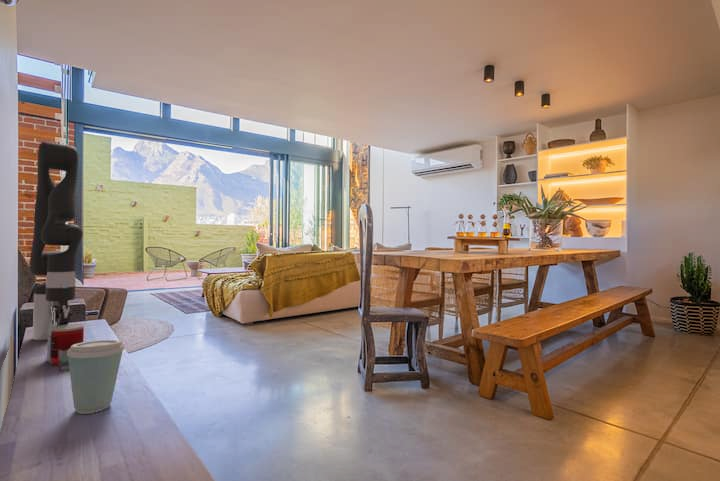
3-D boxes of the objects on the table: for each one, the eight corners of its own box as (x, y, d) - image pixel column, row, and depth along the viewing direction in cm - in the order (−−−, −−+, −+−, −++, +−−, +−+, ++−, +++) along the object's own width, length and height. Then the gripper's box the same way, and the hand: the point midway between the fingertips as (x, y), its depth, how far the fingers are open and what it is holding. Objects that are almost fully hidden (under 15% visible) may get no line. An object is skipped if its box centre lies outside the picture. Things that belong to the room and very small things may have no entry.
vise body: (55, 368, 110) (55, 349, 110) (88, 361, 117) (89, 343, 117) (61, 372, 106) (61, 353, 106) (95, 365, 113) (96, 347, 113)
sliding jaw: (41, 356, 121) (42, 332, 121) (68, 351, 126) (68, 329, 126) (50, 362, 115) (50, 337, 115) (77, 356, 121) (78, 333, 121)
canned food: (88, 358, 119) (89, 324, 119) (67, 366, 111) (68, 329, 111) (66, 357, 120) (67, 323, 120) (43, 365, 112) (44, 328, 112)
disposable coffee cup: (65, 405, 85) (67, 339, 85) (121, 394, 92) (122, 333, 92) (64, 423, 77) (66, 350, 77) (125, 410, 83) (127, 342, 83)
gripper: (40, 284, 122) (38, 337, 122) (52, 288, 114) (50, 344, 114) (68, 283, 128) (67, 333, 128) (81, 286, 120) (80, 340, 120)
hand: (59, 338), depth 121 cm, fingers closed
